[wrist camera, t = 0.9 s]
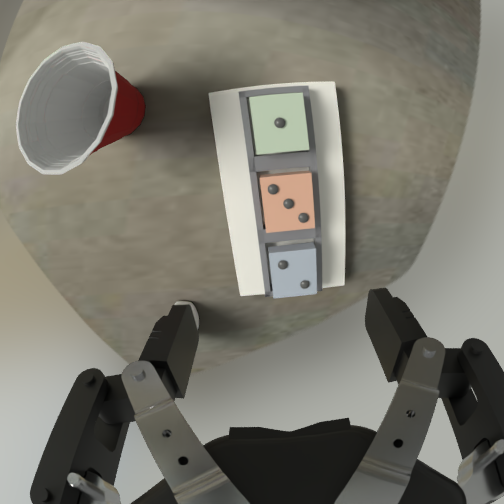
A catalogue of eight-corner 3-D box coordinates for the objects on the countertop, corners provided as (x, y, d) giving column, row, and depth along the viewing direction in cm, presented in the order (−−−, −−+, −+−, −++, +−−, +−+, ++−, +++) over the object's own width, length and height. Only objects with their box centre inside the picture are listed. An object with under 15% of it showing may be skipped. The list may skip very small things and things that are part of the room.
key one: (249, 99, 21) (248, 96, 20) (300, 94, 21) (302, 92, 20) (257, 153, 23) (256, 154, 22) (306, 148, 23) (309, 149, 22)
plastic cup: (182, 71, 23) (134, 40, 13) (152, 166, 28) (93, 190, 17) (100, 60, 22) (33, 42, 11) (77, 146, 27) (6, 162, 16)
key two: (268, 246, 27) (268, 253, 26) (313, 242, 27) (316, 249, 25) (273, 290, 29) (273, 299, 28) (314, 286, 29) (317, 294, 27)
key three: (259, 175, 24) (259, 178, 23) (308, 170, 24) (311, 173, 22) (266, 227, 26) (266, 233, 25) (312, 222, 26) (315, 228, 24)
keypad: (212, 95, 25) (205, 90, 21) (329, 84, 24) (338, 78, 20) (241, 286, 34) (239, 303, 30) (340, 276, 33) (347, 292, 29)
